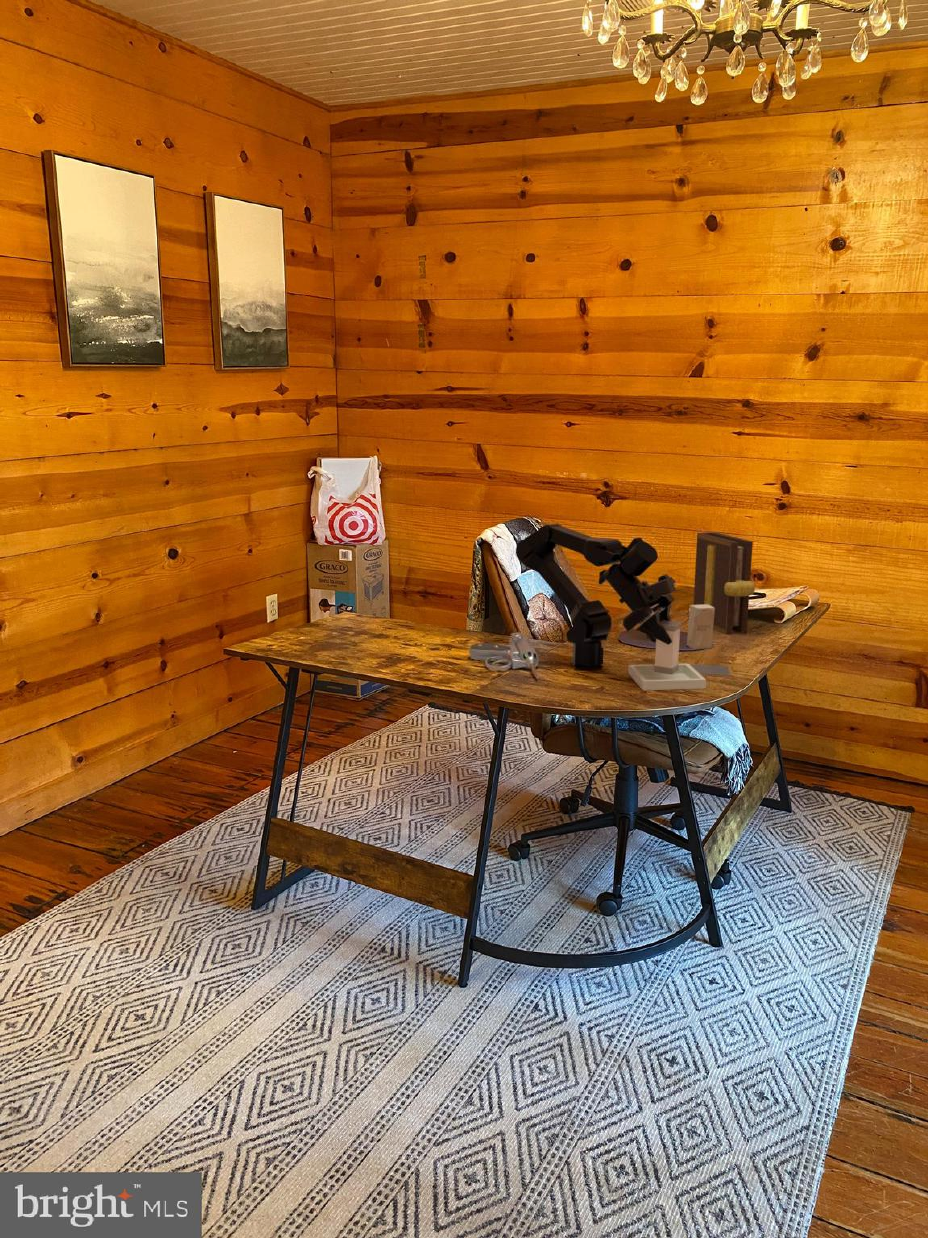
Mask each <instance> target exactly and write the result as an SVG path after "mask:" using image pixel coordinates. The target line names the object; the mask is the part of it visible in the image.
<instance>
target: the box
mask: <svg viewBox="0 0 928 1238" xmlns="http://www.w3.org/2000/svg"><path fill="white" fill-rule="evenodd" d="M714 610H715V608H714V607H712V606H710V605H708V604H704V605H693V604H689V611H688V612H689V613H688V624H687V625H688V626H687V639H686V646H687V645H688V646H689V647H690V649H693V650H701V649H703V650H705V649H712V647H713V637H714V636H713V634H714V633H713V632H714V629H713V624H714ZM689 647H688V648H689Z"/></svg>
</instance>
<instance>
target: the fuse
mask: <svg viewBox="0 0 928 1238" xmlns="http://www.w3.org/2000/svg"><path fill="white" fill-rule="evenodd" d="M660 623H661V624H662V626H663V627H664V629H665V630H666V632H667V634H668V635H669V637H670V638H671V640H672V643H670V644H669V645H668V644H666V643H664V642H662V641H660V640H658V639H656V638H655V654H654V655H655V658H654V664H655V666H654V672H658V673H665V674H671V675H672V674H674V673H675V672H676V671H678V667H679V664H680V663H679V656H680V655H679V653H680V637H681V627H682V622H679V621H672V620H671V621H666V620H662V621H661V622H660Z"/></svg>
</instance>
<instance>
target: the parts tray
mask: <svg viewBox="0 0 928 1238" xmlns="http://www.w3.org/2000/svg"><path fill="white" fill-rule="evenodd" d="M678 664H679V667H678V671H676V672H675V673H674V674H672V675H671V674H665V673H658V672H654V666H655V663H654V664H652V663H651V664H650V663H649V664H628V672H627V674H628V676H629V677H631V679H632V681H634V682H635V683H636V684H637V686H638V687H639V688H640V689H641V690H642V691H669V690H671V691H672V690H704V689H705V690H706V689H707V679H706V678H705V677H704V676H703V674H699V673H698V672H697V671H696V670H695V669H694V668H693V667H692V666H690V665H689V663H678Z"/></svg>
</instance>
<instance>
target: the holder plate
mask: <svg viewBox="0 0 928 1238" xmlns="http://www.w3.org/2000/svg"><path fill="white" fill-rule="evenodd" d="M688 664H689V663H688ZM689 665H690V666H692V667H693V668H694V669H695V670H696V671H697V672H698V673H699V674H701V675H708V676H711V675H712V676H730V677H731V672H730V669H729V666H728V665H711V664H696V663H695V664H691V663H690V664H689Z"/></svg>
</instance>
